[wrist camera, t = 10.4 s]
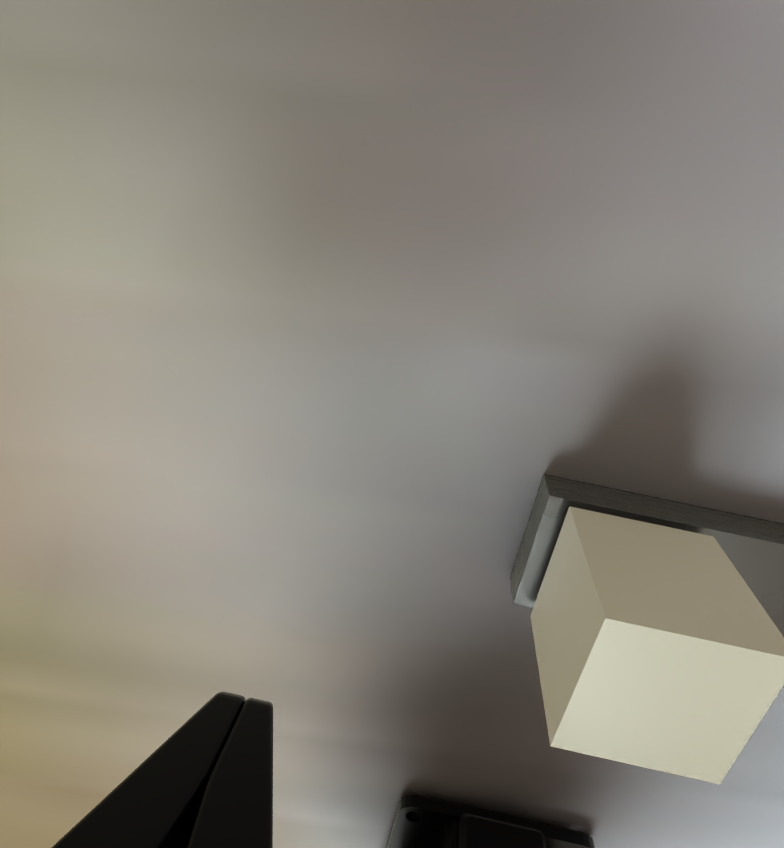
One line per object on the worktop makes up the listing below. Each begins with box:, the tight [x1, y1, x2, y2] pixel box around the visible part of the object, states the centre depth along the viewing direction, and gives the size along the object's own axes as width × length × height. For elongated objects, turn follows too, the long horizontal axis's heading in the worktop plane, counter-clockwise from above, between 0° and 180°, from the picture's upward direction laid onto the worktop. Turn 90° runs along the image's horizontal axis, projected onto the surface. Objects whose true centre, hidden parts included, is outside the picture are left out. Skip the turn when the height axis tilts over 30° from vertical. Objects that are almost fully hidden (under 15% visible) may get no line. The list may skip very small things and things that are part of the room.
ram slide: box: [530, 506, 784, 784], centre depth 12 cm, size 3×3×4 cm
